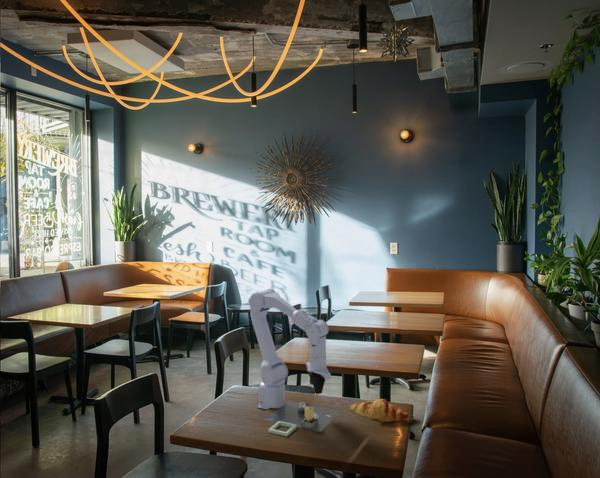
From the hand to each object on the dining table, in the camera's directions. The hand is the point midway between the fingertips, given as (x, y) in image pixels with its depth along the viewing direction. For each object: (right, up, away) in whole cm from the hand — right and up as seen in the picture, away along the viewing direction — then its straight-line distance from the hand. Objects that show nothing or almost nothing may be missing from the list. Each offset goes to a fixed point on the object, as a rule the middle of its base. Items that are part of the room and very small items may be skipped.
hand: (318, 393), depth 175 cm
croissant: (+21, -9, +1) cm, 23 cm away
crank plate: (-5, -9, +1) cm, 11 cm away
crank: (-4, -8, -1) cm, 9 cm away
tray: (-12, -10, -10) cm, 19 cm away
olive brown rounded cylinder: (-3, -9, -7) cm, 12 cm away
